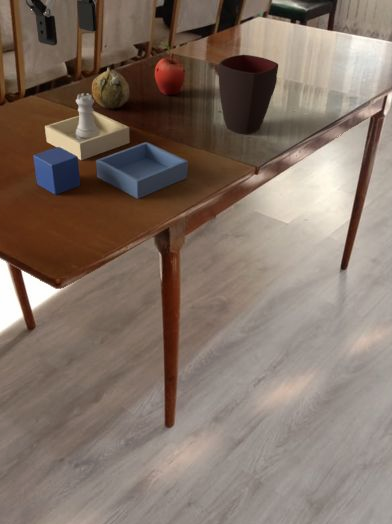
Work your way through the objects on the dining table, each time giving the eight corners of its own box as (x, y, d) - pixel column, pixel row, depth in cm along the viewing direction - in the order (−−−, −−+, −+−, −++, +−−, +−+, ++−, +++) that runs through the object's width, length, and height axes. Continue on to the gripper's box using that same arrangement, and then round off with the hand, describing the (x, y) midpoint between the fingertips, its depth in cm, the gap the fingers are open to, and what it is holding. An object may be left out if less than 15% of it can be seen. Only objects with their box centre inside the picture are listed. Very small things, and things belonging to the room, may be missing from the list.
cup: (207, 128, 122) (211, 63, 114) (247, 109, 130) (253, 47, 123) (249, 142, 118) (256, 76, 110) (288, 122, 126) (297, 59, 118)
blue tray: (137, 199, 100) (137, 181, 98) (97, 177, 105) (95, 160, 103) (187, 177, 106) (187, 160, 104) (146, 158, 111) (146, 141, 109)
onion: (139, 105, 130) (138, 64, 125) (114, 116, 125) (112, 74, 120) (111, 96, 133) (108, 56, 128) (85, 107, 128) (82, 66, 123)
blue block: (55, 195, 100) (51, 165, 96) (37, 184, 102) (32, 155, 99) (80, 185, 102) (77, 156, 99) (62, 175, 105) (58, 146, 102)
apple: (191, 91, 137) (192, 42, 130) (177, 101, 132) (178, 51, 126) (159, 85, 139) (159, 37, 133) (145, 95, 134) (144, 45, 128)
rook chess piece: (70, 140, 114) (66, 96, 109) (86, 133, 117) (83, 89, 112) (89, 147, 112) (85, 102, 107) (105, 139, 115) (102, 95, 110)
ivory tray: (81, 160, 109) (79, 143, 107) (46, 142, 114) (44, 125, 112) (129, 143, 116) (129, 127, 114) (94, 126, 121) (93, 110, 119)
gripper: (35, -89, 80) (50, 54, 91) (115, -99, 91) (120, 29, 102) (-9, -95, 82) (11, 44, 94) (75, -105, 94) (84, 21, 105)
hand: (68, 36), depth 98 cm, fingers open, 9 cm apart
